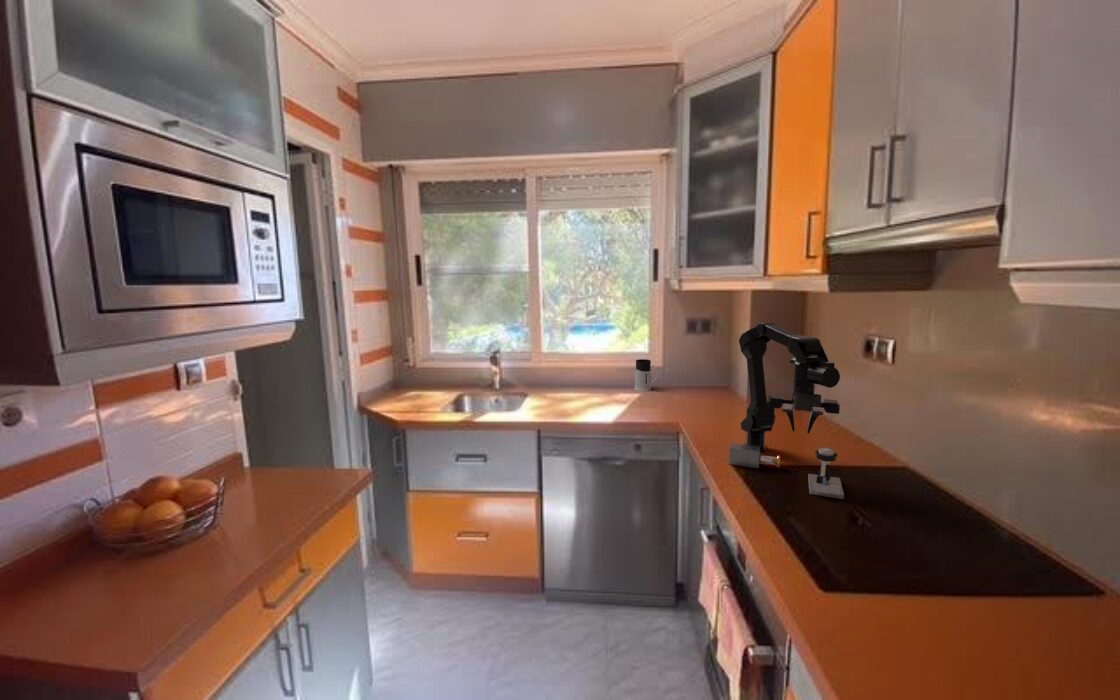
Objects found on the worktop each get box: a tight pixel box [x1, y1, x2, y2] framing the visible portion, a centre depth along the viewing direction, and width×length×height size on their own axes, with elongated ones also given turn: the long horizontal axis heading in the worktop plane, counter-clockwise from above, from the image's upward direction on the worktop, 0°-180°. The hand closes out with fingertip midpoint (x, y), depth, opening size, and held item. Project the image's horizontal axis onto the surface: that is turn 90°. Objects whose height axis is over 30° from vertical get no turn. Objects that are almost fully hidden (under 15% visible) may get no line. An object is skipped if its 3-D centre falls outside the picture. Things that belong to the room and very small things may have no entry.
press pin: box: [759, 454, 781, 468], centre depth 155 cm, size 3×9×3 cm, turn 66°
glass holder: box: [633, 358, 660, 392], centre depth 258 cm, size 9×14×15 cm, turn 40°
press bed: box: [807, 473, 845, 500], centre depth 138 cm, size 12×8×3 cm, turn 156°
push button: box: [814, 447, 838, 485], centre depth 138 cm, size 7×5×10 cm
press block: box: [728, 443, 761, 469], centre depth 157 cm, size 5×8×5 cm, turn 66°
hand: (800, 432), depth 149 cm, fingers open, 4 cm apart
